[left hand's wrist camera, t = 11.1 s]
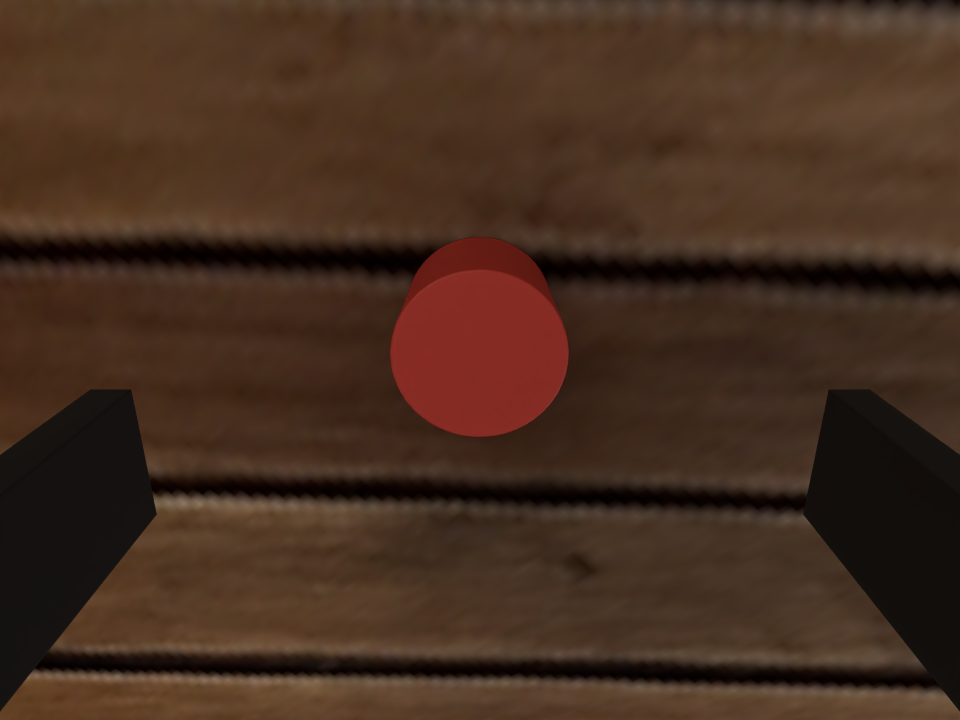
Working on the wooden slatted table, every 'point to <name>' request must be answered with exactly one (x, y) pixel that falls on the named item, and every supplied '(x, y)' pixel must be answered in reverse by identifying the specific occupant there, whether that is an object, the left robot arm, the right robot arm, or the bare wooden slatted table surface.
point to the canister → (479, 339)
